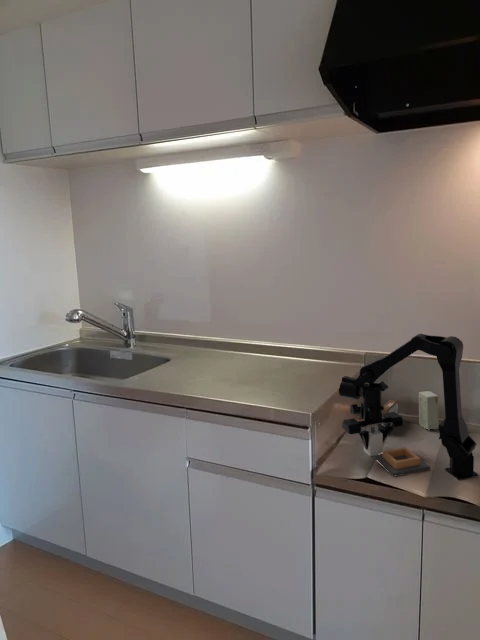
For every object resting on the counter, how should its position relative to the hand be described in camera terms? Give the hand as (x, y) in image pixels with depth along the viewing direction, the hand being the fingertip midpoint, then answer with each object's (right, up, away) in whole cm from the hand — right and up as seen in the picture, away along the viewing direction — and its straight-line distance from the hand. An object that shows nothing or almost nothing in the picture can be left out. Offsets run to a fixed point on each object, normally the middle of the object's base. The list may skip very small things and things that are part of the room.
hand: (373, 447), depth 166 cm
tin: (+11, +3, +20) cm, 23 cm away
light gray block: (0, -2, 0) cm, 2 cm away
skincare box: (+24, +3, +17) cm, 29 cm away
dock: (+6, -3, -8) cm, 11 cm away
